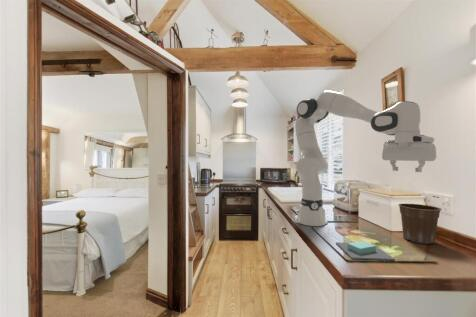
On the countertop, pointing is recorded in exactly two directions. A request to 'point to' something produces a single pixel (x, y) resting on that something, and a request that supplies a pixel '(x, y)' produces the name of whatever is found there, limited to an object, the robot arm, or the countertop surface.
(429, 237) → the plant pot
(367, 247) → the teal board
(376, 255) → the mat
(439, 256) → the countertop surface
